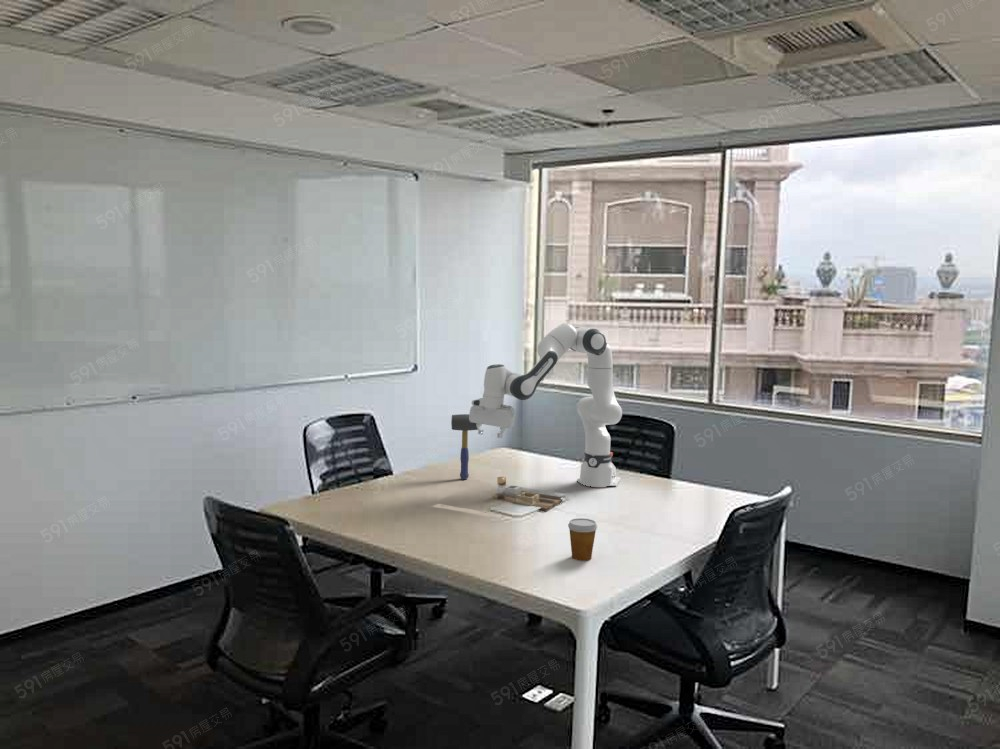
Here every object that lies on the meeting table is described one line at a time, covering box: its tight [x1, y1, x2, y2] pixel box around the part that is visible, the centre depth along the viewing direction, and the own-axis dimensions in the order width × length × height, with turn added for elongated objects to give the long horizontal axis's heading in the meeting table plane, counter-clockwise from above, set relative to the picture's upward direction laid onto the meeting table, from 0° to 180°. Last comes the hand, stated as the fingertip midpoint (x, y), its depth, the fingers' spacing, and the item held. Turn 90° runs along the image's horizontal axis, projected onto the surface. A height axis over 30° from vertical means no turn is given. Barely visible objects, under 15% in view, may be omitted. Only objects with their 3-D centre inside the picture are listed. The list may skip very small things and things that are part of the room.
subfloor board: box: [488, 490, 563, 513], centre depth 328 cm, size 16×26×2 cm, turn 62°
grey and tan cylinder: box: [496, 476, 507, 499], centre depth 328 cm, size 4×4×8 cm
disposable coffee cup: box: [567, 517, 598, 562], centre depth 261 cm, size 10×10×12 cm
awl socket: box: [515, 491, 541, 506], centre depth 322 cm, size 7×7×3 cm
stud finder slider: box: [505, 483, 522, 495], centre depth 335 cm, size 5×8×3 cm, turn 62°
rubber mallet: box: [451, 413, 478, 480], centre depth 363 cm, size 12×8×30 cm, turn 95°
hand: (490, 435), depth 335 cm, fingers open, 8 cm apart
